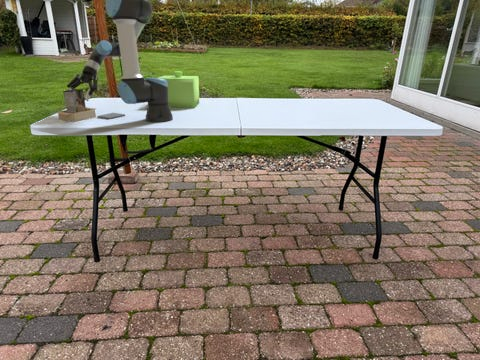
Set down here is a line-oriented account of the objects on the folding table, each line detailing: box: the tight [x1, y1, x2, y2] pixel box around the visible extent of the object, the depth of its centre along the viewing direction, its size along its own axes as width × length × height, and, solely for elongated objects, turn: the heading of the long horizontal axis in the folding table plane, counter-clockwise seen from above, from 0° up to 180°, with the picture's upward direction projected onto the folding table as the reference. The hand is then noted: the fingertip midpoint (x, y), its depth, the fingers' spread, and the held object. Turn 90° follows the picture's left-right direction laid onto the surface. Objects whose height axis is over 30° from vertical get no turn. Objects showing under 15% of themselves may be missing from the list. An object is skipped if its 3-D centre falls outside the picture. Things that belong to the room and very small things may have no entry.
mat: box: [96, 112, 126, 120], centre depth 204 cm, size 10×12×1 cm
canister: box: [158, 70, 200, 109], centre depth 241 cm, size 25×21×23 cm
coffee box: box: [62, 88, 87, 113], centre depth 197 cm, size 9×6×16 cm
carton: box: [55, 106, 97, 123], centre depth 199 cm, size 13×20×4 cm, turn 152°
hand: (76, 98), depth 198 cm, fingers open, 13 cm apart
